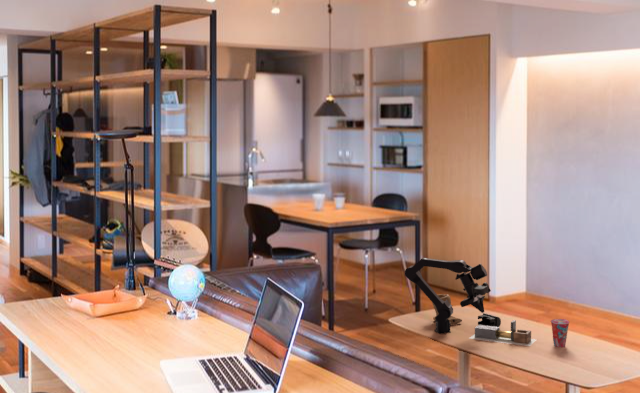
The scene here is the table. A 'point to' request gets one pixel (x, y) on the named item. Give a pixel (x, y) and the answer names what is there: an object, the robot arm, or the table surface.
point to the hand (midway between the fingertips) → (483, 312)
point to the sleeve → (486, 332)
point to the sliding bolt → (507, 334)
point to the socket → (522, 336)
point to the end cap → (489, 320)
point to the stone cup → (451, 319)
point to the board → (504, 340)
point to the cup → (559, 331)
